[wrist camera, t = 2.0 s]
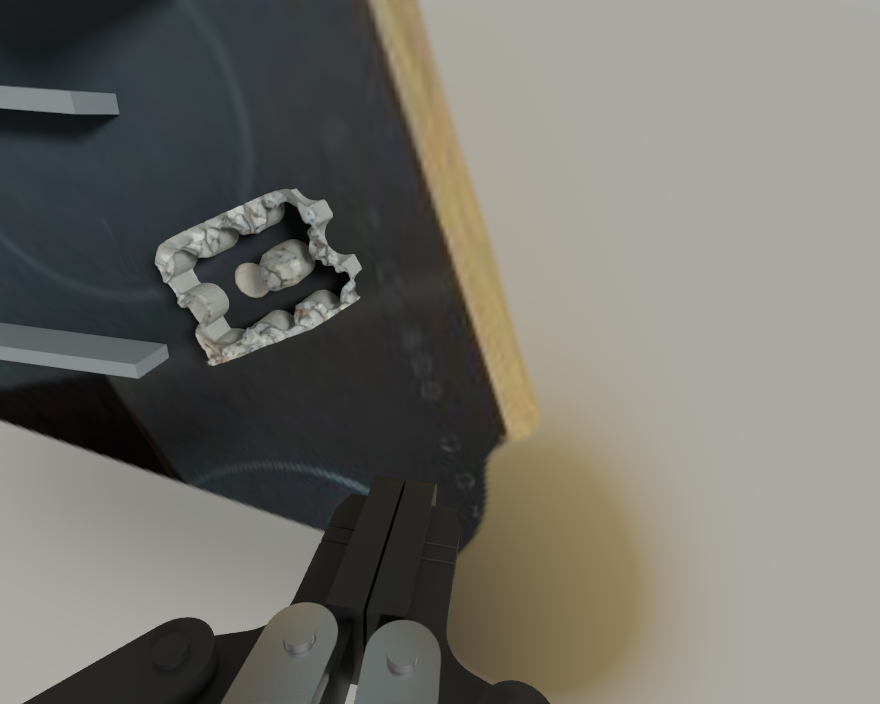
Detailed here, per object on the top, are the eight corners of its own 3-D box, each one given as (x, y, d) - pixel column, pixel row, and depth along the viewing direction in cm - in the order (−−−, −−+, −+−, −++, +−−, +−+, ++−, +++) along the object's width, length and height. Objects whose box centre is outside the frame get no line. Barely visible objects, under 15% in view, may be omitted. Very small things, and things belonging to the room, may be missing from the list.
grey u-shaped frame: (-128, 75, 28) (-196, 71, 25) (115, 93, 26) (69, 91, 24) (-27, 331, 35) (-72, 349, 32) (169, 357, 33) (138, 378, 31)
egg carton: (238, 345, 32) (202, 374, 29) (174, 239, 30) (125, 256, 26) (378, 294, 29) (358, 320, 26) (321, 171, 27) (289, 180, 23)
